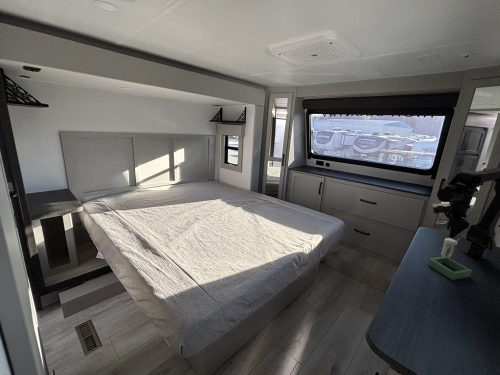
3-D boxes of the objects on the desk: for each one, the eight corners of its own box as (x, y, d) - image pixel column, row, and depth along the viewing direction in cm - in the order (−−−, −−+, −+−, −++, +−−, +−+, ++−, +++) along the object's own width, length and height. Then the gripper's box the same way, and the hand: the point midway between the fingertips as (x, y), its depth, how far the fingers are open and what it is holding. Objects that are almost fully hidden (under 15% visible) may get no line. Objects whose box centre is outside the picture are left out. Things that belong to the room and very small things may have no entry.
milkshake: (455, 259, 102) (463, 240, 99) (444, 258, 102) (451, 240, 99) (447, 254, 106) (455, 235, 103) (436, 253, 106) (443, 234, 103)
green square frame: (443, 261, 99) (445, 256, 99) (469, 276, 90) (472, 270, 89) (427, 264, 97) (429, 258, 96) (452, 279, 88) (454, 273, 87)
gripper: (435, 191, 104) (426, 221, 109) (438, 202, 90) (427, 236, 95) (467, 196, 98) (455, 228, 103) (475, 209, 84) (462, 245, 88)
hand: (449, 233), depth 97 cm, fingers open, 9 cm apart
